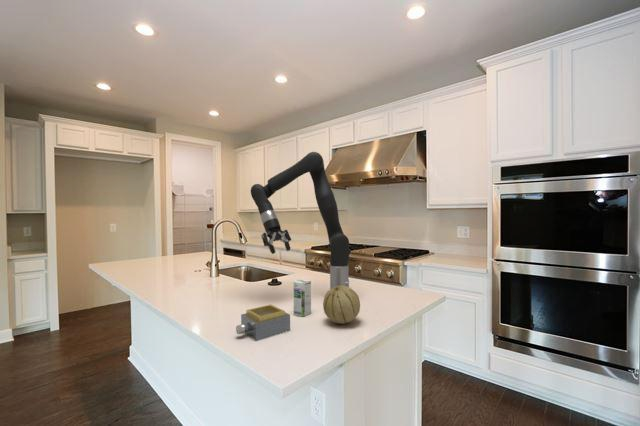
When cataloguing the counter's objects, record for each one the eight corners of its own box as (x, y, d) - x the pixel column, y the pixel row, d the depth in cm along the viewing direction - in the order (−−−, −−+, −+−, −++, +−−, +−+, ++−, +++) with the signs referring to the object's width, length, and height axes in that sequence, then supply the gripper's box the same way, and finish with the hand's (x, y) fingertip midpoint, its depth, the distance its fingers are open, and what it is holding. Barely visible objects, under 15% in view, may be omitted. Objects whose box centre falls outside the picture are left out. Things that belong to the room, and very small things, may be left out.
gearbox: (273, 321, 123) (273, 303, 123) (290, 330, 114) (290, 310, 114) (231, 333, 112) (230, 312, 112) (245, 344, 103) (245, 322, 103)
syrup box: (292, 314, 131) (292, 281, 131) (301, 310, 136) (301, 278, 136) (303, 317, 128) (303, 282, 128) (311, 313, 133) (311, 280, 133)
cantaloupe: (364, 319, 125) (364, 282, 125) (353, 332, 112) (353, 291, 112) (331, 314, 131) (331, 279, 131) (317, 326, 118) (316, 287, 118)
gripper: (261, 219, 141) (272, 251, 136) (285, 216, 151) (297, 246, 146) (254, 226, 146) (265, 257, 141) (278, 223, 156) (289, 252, 151)
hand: (281, 251), depth 144 cm, fingers open, 8 cm apart
